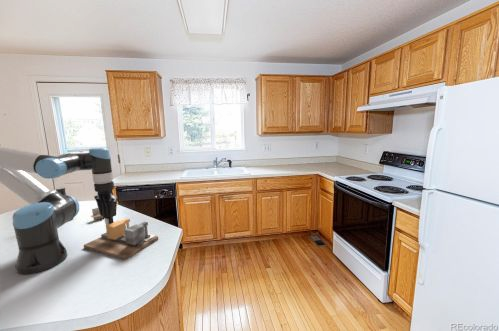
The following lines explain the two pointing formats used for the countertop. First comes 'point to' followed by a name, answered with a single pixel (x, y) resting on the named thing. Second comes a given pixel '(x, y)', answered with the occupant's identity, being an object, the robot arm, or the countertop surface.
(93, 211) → the architectural model
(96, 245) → the brown board with bar
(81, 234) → the countertop surface
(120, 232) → the block
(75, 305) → the countertop surface
